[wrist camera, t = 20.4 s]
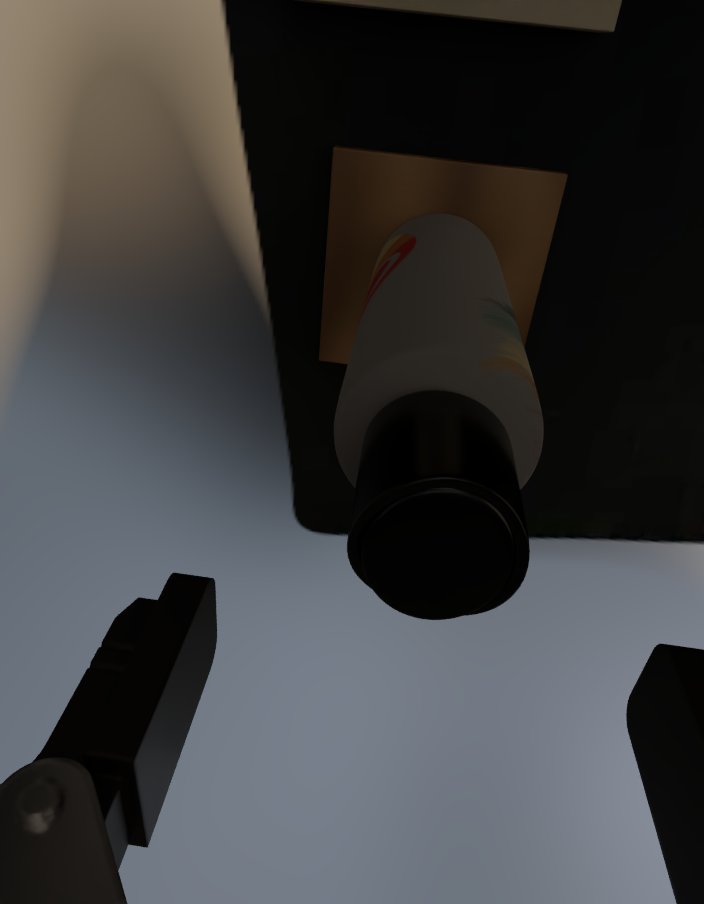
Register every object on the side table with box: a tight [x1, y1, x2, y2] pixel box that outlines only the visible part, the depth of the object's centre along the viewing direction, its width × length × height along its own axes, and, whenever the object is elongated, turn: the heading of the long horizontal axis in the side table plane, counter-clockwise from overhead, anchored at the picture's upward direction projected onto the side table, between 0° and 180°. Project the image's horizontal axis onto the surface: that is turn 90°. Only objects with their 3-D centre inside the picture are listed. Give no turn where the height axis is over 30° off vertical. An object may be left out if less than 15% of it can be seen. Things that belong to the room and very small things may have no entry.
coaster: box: [319, 146, 568, 364], centre depth 30 cm, size 10×10×1 cm
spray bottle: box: [334, 213, 544, 620], centre depth 22 cm, size 6×6×20 cm
